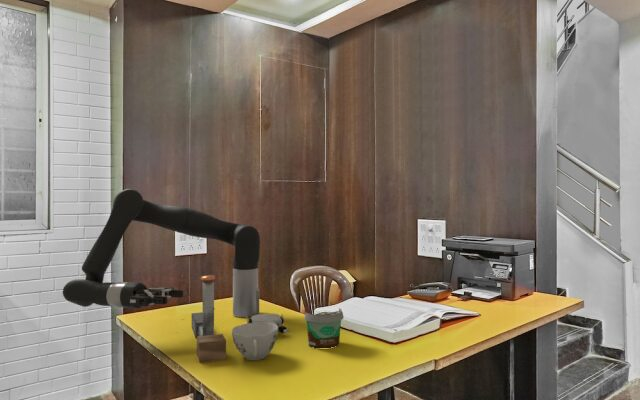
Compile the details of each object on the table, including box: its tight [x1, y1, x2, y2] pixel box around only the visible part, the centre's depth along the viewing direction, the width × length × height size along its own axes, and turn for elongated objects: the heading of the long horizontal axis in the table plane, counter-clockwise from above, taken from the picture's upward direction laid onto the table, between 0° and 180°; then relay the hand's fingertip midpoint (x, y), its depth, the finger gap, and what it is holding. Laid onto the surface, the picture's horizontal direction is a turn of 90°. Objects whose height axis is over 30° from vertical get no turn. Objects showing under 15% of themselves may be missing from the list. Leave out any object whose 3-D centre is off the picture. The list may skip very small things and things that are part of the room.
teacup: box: [231, 322, 279, 361], centre depth 124 cm, size 15×12×8 cm
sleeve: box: [191, 311, 203, 339], centre depth 149 cm, size 13×5×5 cm, turn 21°
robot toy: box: [245, 313, 290, 334], centre depth 148 cm, size 12×4×15 cm
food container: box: [303, 308, 344, 349], centre depth 134 cm, size 12×6×10 cm, turn 117°
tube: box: [197, 274, 216, 336], centre depth 135 cm, size 22×4×20 cm, turn 21°
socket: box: [196, 333, 227, 364], centre depth 125 cm, size 6×7×5 cm
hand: (175, 297), depth 135 cm, fingers open, 8 cm apart
